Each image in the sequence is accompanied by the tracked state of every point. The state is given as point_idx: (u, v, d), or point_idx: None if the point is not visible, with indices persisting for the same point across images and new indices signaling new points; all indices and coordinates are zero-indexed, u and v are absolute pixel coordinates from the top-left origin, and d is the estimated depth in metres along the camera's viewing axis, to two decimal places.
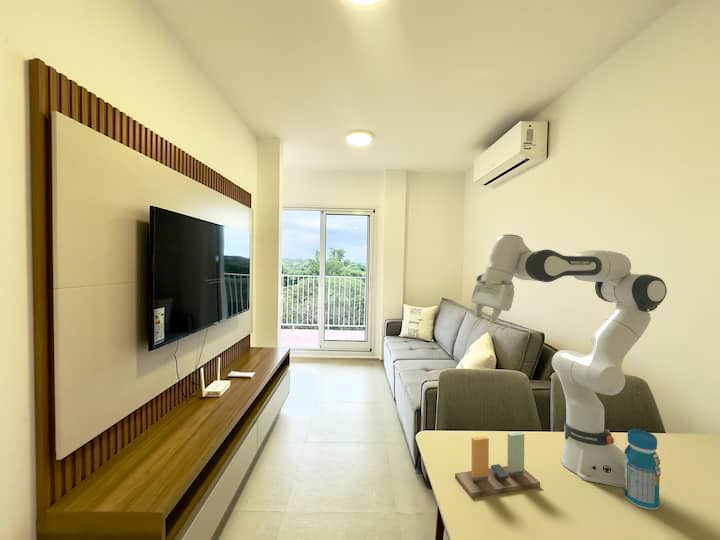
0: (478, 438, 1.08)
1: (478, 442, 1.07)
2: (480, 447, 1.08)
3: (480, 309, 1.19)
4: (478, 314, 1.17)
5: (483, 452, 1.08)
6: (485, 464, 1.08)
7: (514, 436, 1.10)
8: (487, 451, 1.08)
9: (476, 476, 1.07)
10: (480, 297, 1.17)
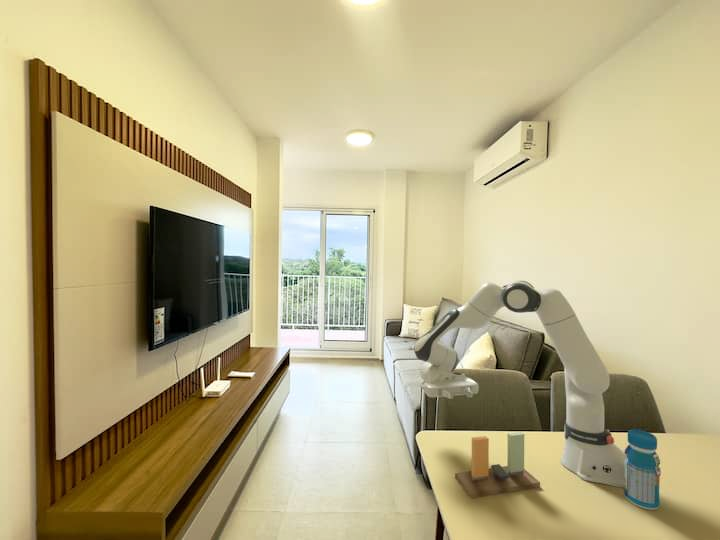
0: (478, 438, 1.08)
1: (478, 442, 1.07)
2: (480, 447, 1.08)
3: (468, 390, 1.24)
4: (467, 394, 1.22)
5: (483, 452, 1.08)
6: (485, 464, 1.08)
7: (514, 436, 1.10)
8: (487, 451, 1.08)
9: (476, 476, 1.07)
10: None
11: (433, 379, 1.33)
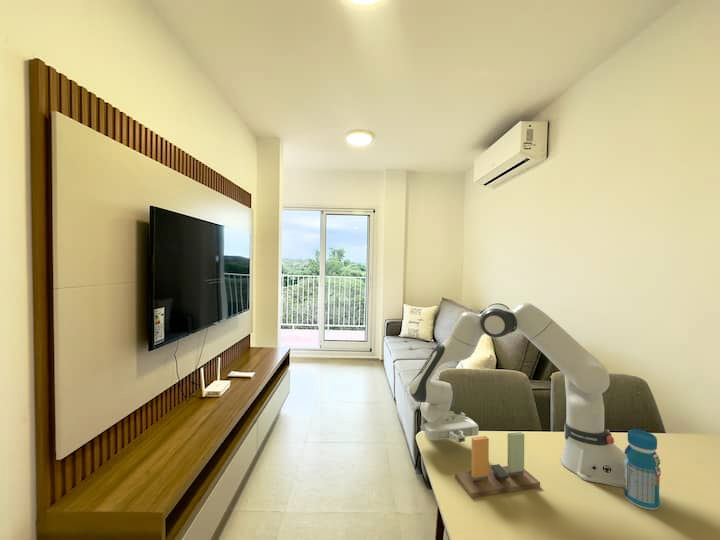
0: (478, 438, 1.08)
1: (478, 442, 1.07)
2: (480, 447, 1.08)
3: (461, 433, 1.23)
4: None
5: (483, 452, 1.08)
6: (485, 464, 1.08)
7: (514, 436, 1.10)
8: (487, 451, 1.08)
9: (476, 476, 1.07)
10: None
11: (433, 419, 1.33)
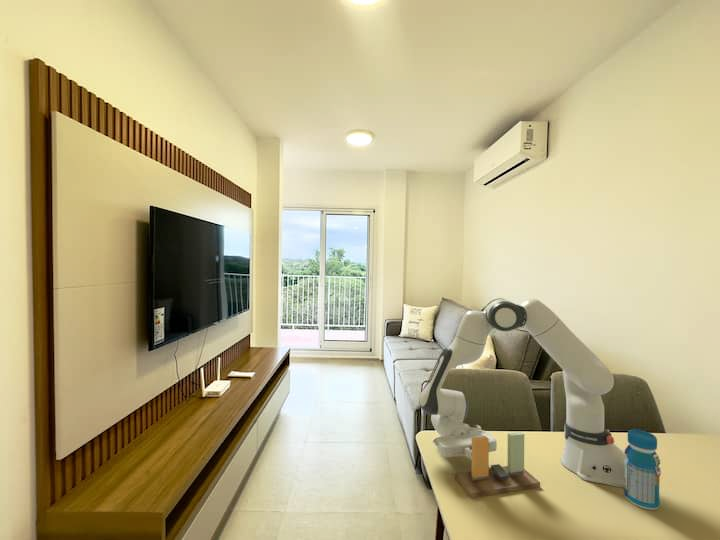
0: (478, 438, 1.08)
1: (478, 442, 1.07)
2: (480, 447, 1.07)
3: None
4: None
5: (483, 452, 1.08)
6: (485, 464, 1.08)
7: (514, 436, 1.10)
8: (487, 451, 1.08)
9: (476, 476, 1.07)
10: None
11: (446, 433, 1.22)
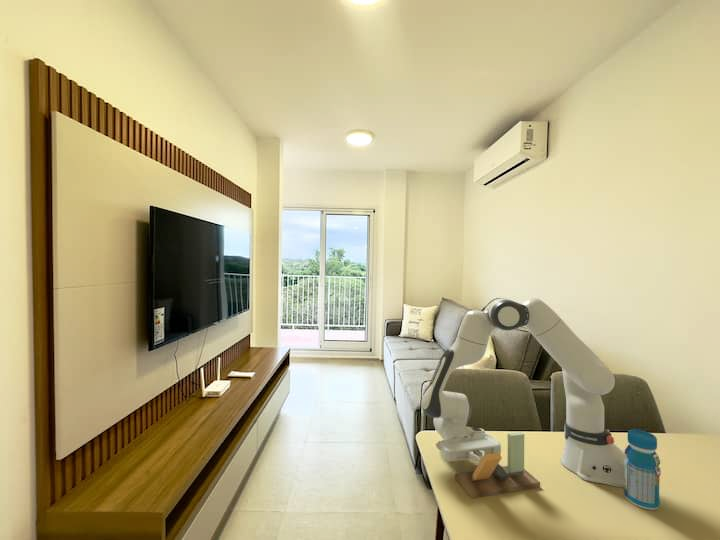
0: (491, 456, 1.01)
1: (489, 461, 1.01)
2: (490, 463, 1.02)
3: (482, 454, 1.10)
4: None
5: (491, 466, 1.03)
6: (489, 472, 1.06)
7: (514, 436, 1.10)
8: (496, 465, 1.04)
9: (477, 479, 1.07)
10: None
11: (450, 436, 1.19)
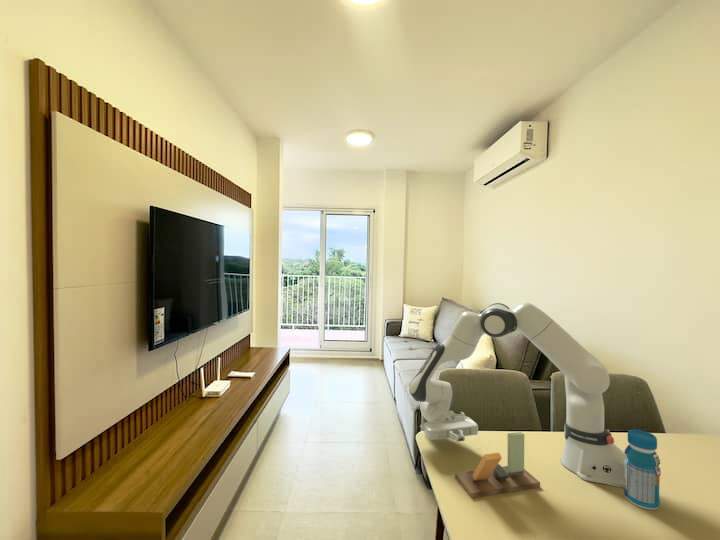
0: (491, 456, 1.01)
1: (489, 461, 1.01)
2: (490, 463, 1.02)
3: (460, 433, 1.23)
4: None
5: (491, 466, 1.03)
6: (489, 472, 1.06)
7: (514, 436, 1.10)
8: (496, 465, 1.04)
9: (477, 479, 1.07)
10: None
11: (433, 418, 1.33)
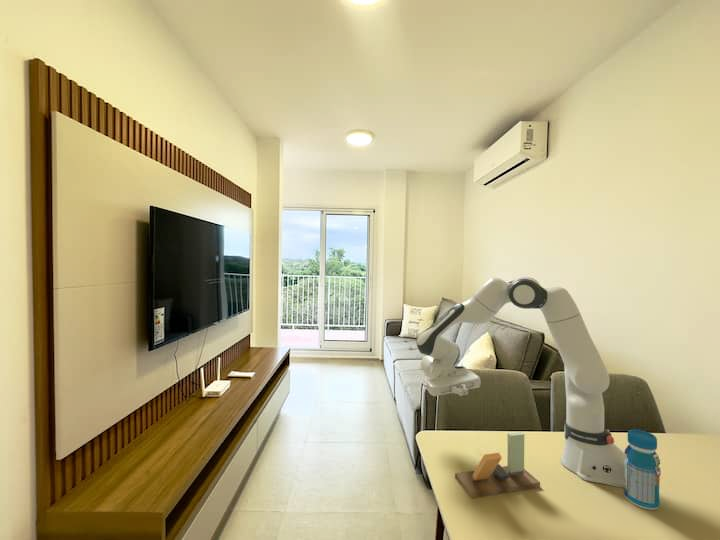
0: (491, 456, 1.01)
1: (489, 461, 1.01)
2: (490, 463, 1.02)
3: None
4: None
5: (491, 466, 1.03)
6: (489, 472, 1.06)
7: (514, 436, 1.10)
8: (496, 465, 1.04)
9: (477, 479, 1.07)
10: None
11: (435, 375, 1.32)
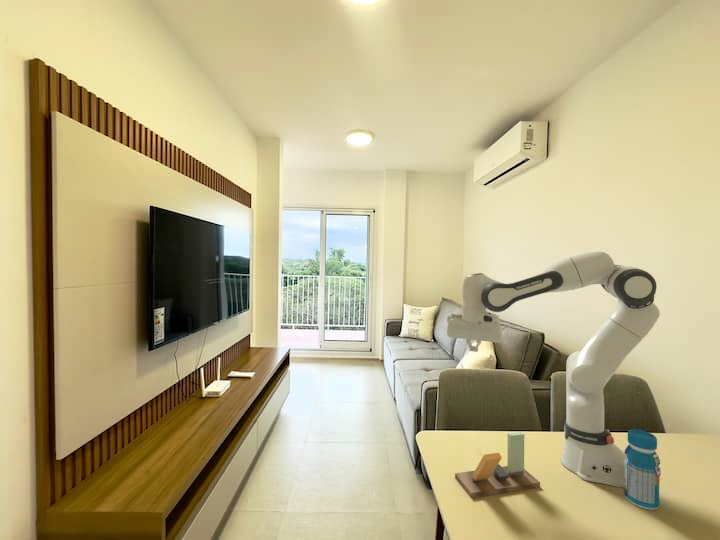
0: (491, 456, 1.01)
1: (489, 461, 1.01)
2: (490, 463, 1.02)
3: (477, 344, 1.30)
4: None
5: (491, 466, 1.03)
6: (489, 472, 1.06)
7: (514, 436, 1.10)
8: (496, 465, 1.04)
9: (477, 479, 1.07)
10: None
11: (461, 314, 1.32)
